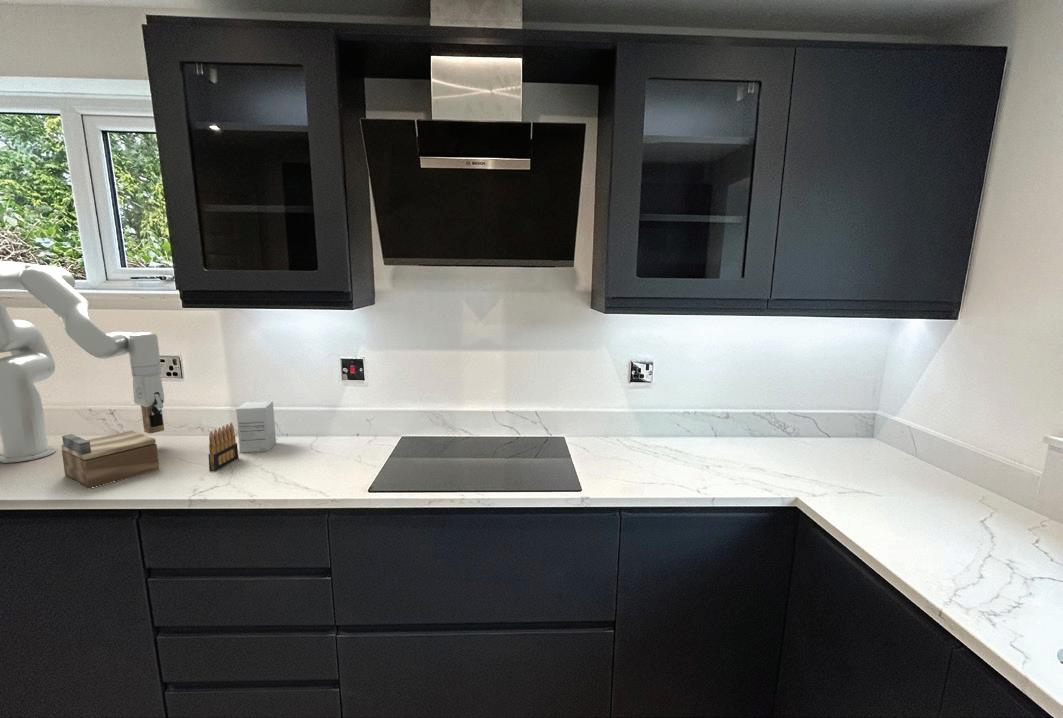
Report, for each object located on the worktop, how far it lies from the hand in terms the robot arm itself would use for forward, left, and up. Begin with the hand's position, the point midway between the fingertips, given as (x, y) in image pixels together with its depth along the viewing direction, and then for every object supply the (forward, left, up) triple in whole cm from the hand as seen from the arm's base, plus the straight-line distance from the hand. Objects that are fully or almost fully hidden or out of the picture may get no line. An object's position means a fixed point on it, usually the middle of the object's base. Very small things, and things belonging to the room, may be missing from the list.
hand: (153, 424), depth 156 cm
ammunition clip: (+34, +4, -8) cm, 35 cm away
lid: (+14, -16, 0) cm, 21 cm away
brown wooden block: (0, 0, -2) cm, 2 cm away
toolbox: (+14, -16, -8) cm, 23 cm away
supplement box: (+28, +18, -8) cm, 34 cm away
